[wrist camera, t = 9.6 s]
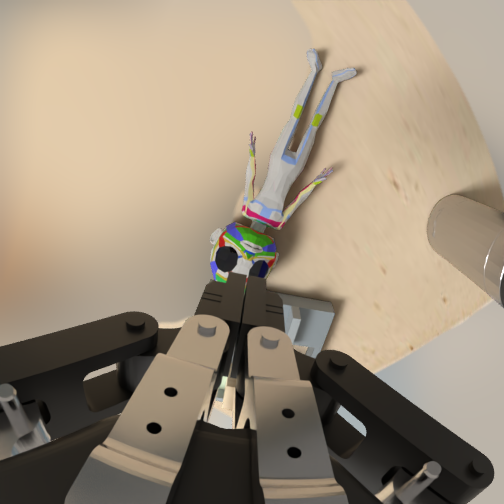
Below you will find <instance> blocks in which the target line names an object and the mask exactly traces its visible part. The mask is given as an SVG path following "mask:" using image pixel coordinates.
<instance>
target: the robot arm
mask: <svg viewBox="0 0 504 504" xmlns="http://www.w3.org/2000/svg"><path fill="white" fill-rule="evenodd" d="M427 234H428V240H429V243H430V245H431V246H432V248H433V249H434V250H435V251H436V252H437V253H438V254H439V255H441V256H442V257H443V258H444V259H446V260H447V261H448V262H449V263H451V264H452V265H453V266H454V267H456V268H457V269H458V270H459V271H461V272H462V273H463V274H464V275H465V276H467V277H468V278H469V279H470V280H472V281H473V282H474V283H475V284H476V285H478V286H479V287H480V288H481V289H482V290H483V291H485V292H486V293H487V294H488V295H489V296H490V297H492V298H493V299H494V300H495V301H496V302H497V303H499V304H500V305H501V306H502V307H503V308H504V213H503V212H501V211H498V210H496V209H494V208H491V207H489V206H486V205H484V204H481V203H479V202H477V201H474V200H471V199H469V198H466V197H463V196H461V195H455V194H454V195H449V196H447V197H444V198H443V199H442V200H440V201H439V202H438V203H437V204H436V205H435V207H434V208H433V210H432V212H431V214H430V217H429V220H428V225H427ZM246 278H247V275H245V274H240V273H235V272H230V271H229V274H228V277H227V281H226V283H224V282H219V281H212V282H210V283H209V284H207V285H206V287H205V290H204V293H203V295H202V297H201V300H200V302H199V305H198V307H197V310H196V312H195V315H194V316H192V317H190V318H188V319H187V320H186V321H185V323H184V325H183V326H182V327H181V328H175V329H162V328H158V322H157V321H156V320H155V318H153V317H152V316H150V315H148V314H146V313H142V312H126V313H122V314H118V315H115V316H111V317H108V318H104V319H101V320H97V321H94V322H91V323H86V324H83V325H79V326H76V327H72V328H69V329H65V330H61V331H58V332H54V333H50V334H46V335H43V336H39V337H35V338H32V339H28V340H24V341H20V342H16V343H13V344H9V345H5V346H1V347H0V504H467V503H468V502H470V501H471V500H472V499H473V498H475V497H476V496H477V495H478V494H479V493H481V492H482V491H483V490H484V489H485V488H487V487H488V486H489V485H490V484H491V483H492V481H493V478H494V468H493V465H492V463H491V461H490V460H489V459H488V458H487V457H486V456H485V455H484V454H482V453H481V452H480V451H478V450H477V449H475V448H474V447H473V446H471V445H470V444H468V443H467V442H465V441H464V440H463V439H461V438H460V437H458V436H457V435H456V434H454V433H453V432H451V431H450V430H449V429H447V428H446V427H444V426H443V425H441V424H440V423H439V422H438V421H436V420H435V419H433V418H432V417H431V416H429V415H428V414H427V413H425V412H424V411H423V410H421V409H420V408H418V407H417V406H416V405H414V404H413V403H412V402H410V401H409V400H408V399H406V398H405V397H403V396H402V395H401V394H399V393H398V392H397V391H395V390H394V389H393V388H391V387H390V386H389V385H387V384H386V383H385V382H383V381H382V380H381V379H379V378H378V377H377V376H375V375H374V374H373V373H371V372H370V371H369V370H367V369H366V368H365V367H363V366H362V365H361V364H359V363H358V362H357V361H355V360H354V359H353V358H352V357H350V356H349V355H347V354H345V353H343V352H340V351H336V350H324V351H321V352H320V353H318V354H317V356H316V358H313V357H310V356H307V355H304V354H302V353H300V352H298V351H296V350H295V349H293V345H292V341H291V339H290V337H289V336H288V335H287V334H285V322H284V310H283V300H282V299H281V297H280V296H279V295H278V294H277V293H275V292H270V291H266V279H265V278H260V277H255V276H250V275H248V279H247V284H246ZM245 285H246V288H245ZM244 291H245V293H244ZM234 347H235V348H234ZM233 352H234V355H233ZM232 357H233V361H232ZM231 361H232V368H231V374H230V378H235V379H236V385H235V389H234V393H233V416H232V429H224V428H220V427H218V426H215V425H213V424H210V423H208V422H209V419H210V416H211V412H212V409H213V406H214V403H215V399H216V396H217V392H218V388H219V387H220V385H221V382H222V378H223V376H224V377H228V375H229V371H230V366H231ZM115 363H116V368H117V369H116V370H113V371H111V372H108V373H105V374H103V375H100V376H97V377H94V378H92V379H89V380H86V381H83V380H84V378H85V376H86V375H88V374H89V373H90V372H93V371H96V370H98V369H101V368H104V367H107V366H110V365H112V364H115ZM341 405H342V406H343V407H344V408H345V409H346V410H347V411H349V412H350V413H351V414H352V415H353V416H355V417H356V418H357V419H358V420H359V421H361V422H362V423H363V424H364V426H365V428H366V432H367V433H366V437H365V436H364V435H362V434H361V433H360V432H359V431H358V430H357V429H355V428H354V427H353V426H352V425H351V424H350V423H348V422H347V421H346V420H345V419H344V418H343V417H341V416H340V415H339V414H338V413H337V411H338V409H339V408H340V406H341ZM120 413H121V414H120ZM118 414H120V415H118ZM55 439H56V440H55ZM52 440H53V441H52ZM50 441H51V442H50Z"/></svg>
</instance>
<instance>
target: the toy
mask: <svg viewBox="0 0 504 504" xmlns="http://www.w3.org/2000/svg"><path fill="white" fill-rule="evenodd" d="M307 58H308V62H309V65H310V67H311V70H312V71H311V73H310V74H309V76H308V78H307V79H306V81H305V83H304V85H303V86H302V88H301V90H300V92H299V93H298V95H297V97H296V99H295V103H294V106H293V109H292V113H291V117H290V120H289V121H288V122H287V124H286V125H285V127H284V128H283V130H282V132H281V134H280V136H279V138H278V140H277V142H276V145H275V147H274V149H273V151H272V153H271V155H270V161H269V168H268V173H267V177H266V180H265V182H264V185H263V187H262V189H261V191H260V192H259V194H258V195H257V196H256V198H255V199H254V179H255V174H256V164H255V140H256V137H255V138H254V142H253V141H252V140H253V139H252V138H253V132H251V133H250V144H249V146H250V149H249V150H250V158H249V162H248V166H247V170H246V186H245V195H244V202H243V208H242V214H243V215H244V217H247V218H249V219H251V220H253V222H252V224H251V226H250V227H246V226H244V225H242V224H239V223H236V222H234V223H232V224H230V225H228V226H226V227H225V228H224V229H223V231H222V229H221V228H218V229H217V230H215V231H214V232H213V233H212V235H211V237H210V242H211V243H212V244H215V245H214V247H213V249H212V250H211V257H210V262H211V263H210V264H211V269H212V272H213V276H214V279H215V281H219V282H224V283H226V281H227V277H228V274H229V271H230V272H235V273H240V274H245V275H247V278H246V284H247V279H248V275H250V276H255V277H260V278H265V279H267V277H268V275H269V274H270V272H271V270H272V269H273V268H274V267H275V266H276V263H277V261H278V257H279V253H278V252H277V253H276V245H275V241H274V238H272V237H270V236H268V235H266V234H264V230H265V228H266V227H270V228H273V229H275V230H280V229H281V228H282V227H283V226H284V225H285V223H286V222H287V220H288V219H289V218H290V217H291V215H292V214H293V213H294V211H295V210H296V209H297V208H298V206H299V205H300V204H301V203H302V202H303V201H304V200H305V199H306V198H307V197H308V196H309V195H310V194H311V192H312V191H313V189H314V188H315V186H316V185H317V184H319V183H321V182H322V181H323V180H326V177H327V176H328V175H329V174H330V173H331V172H333V170H332V169H333V168H330V169H329V170H328V171H327V172H326V173H325V174H323V173H324V171H325V170H326V168H325V169H324V170H323V171H322V173H321V174H320V175H319V176H317V178H316V179H315V180H314V181H313V182H312V183H310V184H309V185H308V186H306V187H305V188H304V189H303V190H301V191H300V192H299V194H298V195H297V197H296V198H295V199H294V201H292V202H291V203H290V204H289V205H288V206H286V207H285V208H284V209H283V205H284V201H285V197H286V195H287V193H288V191H289V189H290V187H291V185H292V184H293V183H294V181H295V180H296V179H297V177H298V176H299V175H300V173H301V172H302V171H303V169H304V166H305V164H306V161H307V159H308V157H309V154H310V151H311V149H312V146H313V144H314V140H315V135H316V131H317V129H318V128H319V126H320V125H321V123H322V121H323V119H324V117H325V115H326V114H327V111H328V108H329V105H330V102H331V99H332V96H333V94H334V91H335V89H336V86H337V83H338V82H341V81H344V80H347V79H350V78H352V77H354V76H355V75H356V74H357V71H356V70H355V68H347V69H343V70H338V71H334V72H332V81H331V83H330V85H329V86H328V88H327V90H326V92H325V93H324V95H323V97H322V99H321V101H320V103H319V105H318V107H317V109H316V111H315V113H314V116H313V118H312V120H311V123H310V125H309V127H308V129H307V131H306V133H305V135H304V137H303V139H302V141H301V143H300V145H299V148H298V150H297V152H292V151H290V150H289V149H288V148H289V146H290V143H291V141H292V138H293V136H294V133H295V130H296V127H297V124H298V122H299V119H300V117H301V115H302V112H303V110H304V107H305V105H306V102H307V99H308V96H309V94H310V91H311V88H312V85H313V83H314V80H315V77H316V75H317V73H318V72H319V71H320V70H321V69H322V64H321V62H320V59H319V56H318V53H317V51H316V50H315V49H308V51H307ZM230 246H231V247H233V248H234V249H235V250H236V252H237V254H235V253H232V252H230ZM245 288H246V285H245ZM244 293H245V291H244Z"/></svg>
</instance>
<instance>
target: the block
mask: <svg viewBox="0 0 504 504" xmlns="http://www.w3.org/2000/svg"><path fill="white" fill-rule="evenodd" d="M231 368H232V363H231V366H230V371H229V375H228V377H227V380H226V385H225V391H224V397H223V403H222V409H225V410H231V411H233V393H234V389H235V385H236V379H235V378H230V374H231Z"/></svg>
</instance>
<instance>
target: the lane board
mask: <svg viewBox="0 0 504 504" xmlns="http://www.w3.org/2000/svg"><path fill="white" fill-rule="evenodd" d="M212 281H215V280H210V282H212ZM210 282H209V283H210ZM270 292H271V291H270ZM275 293H277V292H275ZM277 294H278V295H279V296H280V297H281V299H282V300H283V310H284V322H285V334H287V335H288V336H289V337H290V339H291V341H292V345H299V346H306V347H308V349H307V352H306V354H305V355H307V356H310V357H313V358H316V356H317V354H318V353H320V351H321V349H322V346H323V344H324V341H325V339H326V336H327V333H328V331H329V328H330V325H331V323H332V320H333V317H334V315H335V312H334V309H333V306H332V304H331V302H326V301H320V300H315V299H309V298H304V297H298V296H293V295H287V294H282V293H277ZM234 348H235V347H234ZM233 355H234V352H233ZM232 361H233V357H232ZM232 361H231V363H232ZM226 380H227V377H224V376H223V378H222V382H221V385H220V387H219V388H218V392H217V396H216V399H215V400H216V401H221V402H223V397H224V391H225V385H226Z"/></svg>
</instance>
